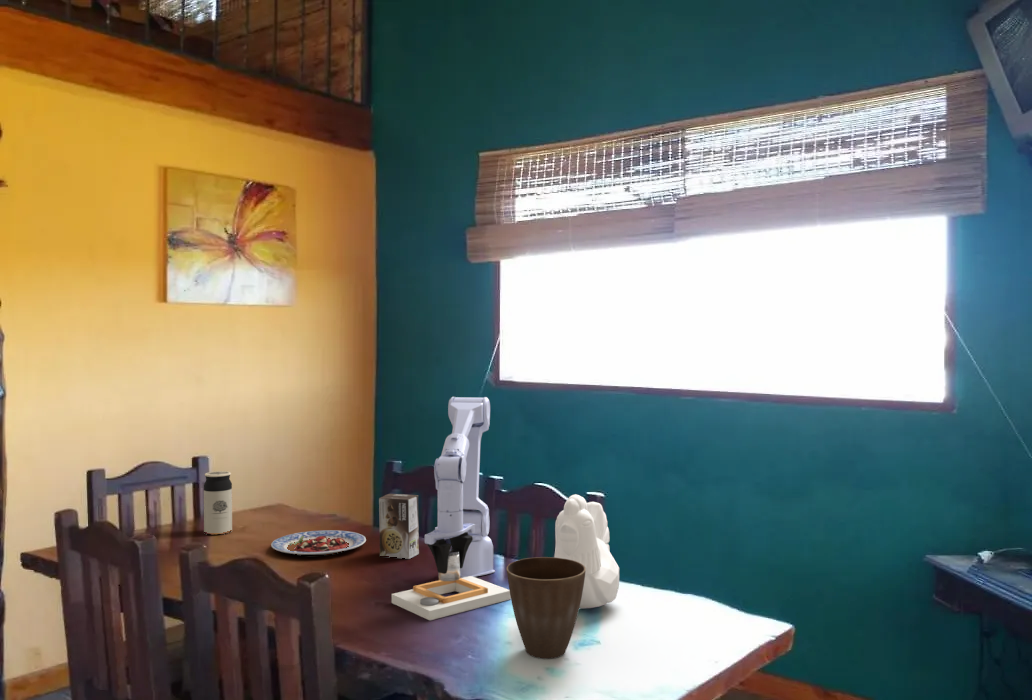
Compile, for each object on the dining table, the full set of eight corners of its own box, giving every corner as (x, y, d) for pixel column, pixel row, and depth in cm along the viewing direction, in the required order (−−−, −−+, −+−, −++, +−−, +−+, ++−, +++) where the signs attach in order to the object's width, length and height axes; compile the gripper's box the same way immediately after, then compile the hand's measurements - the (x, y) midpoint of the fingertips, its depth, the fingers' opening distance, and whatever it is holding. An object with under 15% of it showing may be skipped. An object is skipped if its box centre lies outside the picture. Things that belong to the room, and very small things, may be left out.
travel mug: (205, 530, 257) (205, 471, 256) (233, 529, 259) (232, 470, 258) (202, 536, 249) (202, 475, 249) (230, 535, 251) (230, 474, 250)
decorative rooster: (592, 623, 174) (592, 504, 174) (529, 609, 184) (530, 495, 183) (648, 593, 194) (648, 486, 194) (589, 581, 204) (590, 479, 203)
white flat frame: (470, 584, 202) (470, 571, 202) (510, 599, 190) (510, 586, 190) (391, 602, 188) (391, 589, 188) (429, 620, 176) (429, 606, 176)
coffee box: (419, 553, 230) (419, 494, 229) (409, 559, 224) (409, 499, 223) (389, 551, 233) (389, 492, 232) (378, 556, 227) (378, 497, 226)
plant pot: (595, 663, 153) (596, 576, 153) (515, 670, 150) (515, 581, 150) (573, 635, 168) (573, 555, 167) (499, 640, 165) (499, 559, 164)
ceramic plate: (385, 545, 240) (385, 534, 240) (318, 566, 218) (318, 555, 218) (320, 533, 254) (319, 523, 254) (251, 552, 232) (251, 541, 232)
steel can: (448, 574, 193) (448, 547, 193) (464, 577, 190) (463, 550, 190) (434, 579, 189) (433, 552, 189) (450, 582, 186) (449, 554, 186)
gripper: (458, 502, 197) (458, 560, 197) (414, 512, 186) (414, 574, 186) (481, 506, 193) (481, 565, 193) (438, 517, 181) (438, 579, 182)
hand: (450, 570), depth 189 cm, fingers closed on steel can, 5 cm apart
